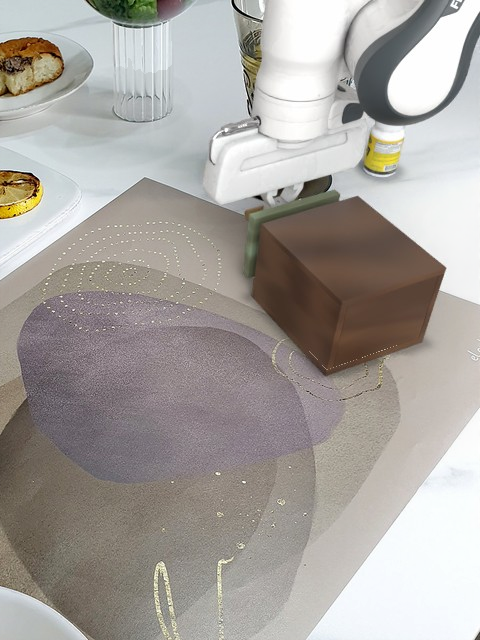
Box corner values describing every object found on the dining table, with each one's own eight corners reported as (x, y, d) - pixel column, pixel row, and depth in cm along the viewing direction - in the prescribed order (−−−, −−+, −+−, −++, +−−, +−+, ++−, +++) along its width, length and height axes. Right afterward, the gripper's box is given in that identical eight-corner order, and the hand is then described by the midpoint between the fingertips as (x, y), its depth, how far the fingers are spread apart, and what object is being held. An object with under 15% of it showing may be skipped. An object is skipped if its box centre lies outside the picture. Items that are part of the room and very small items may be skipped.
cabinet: (251, 296, 105) (261, 223, 97) (341, 268, 108) (357, 195, 101) (325, 376, 95) (342, 301, 87) (422, 342, 98) (446, 267, 90)
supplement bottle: (366, 158, 126) (378, 104, 120) (399, 164, 125) (412, 110, 119) (358, 174, 123) (370, 120, 117) (392, 181, 122) (405, 126, 116)
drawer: (223, 253, 110) (229, 194, 104) (302, 230, 113) (312, 170, 107) (307, 344, 97) (320, 282, 91) (394, 314, 100) (412, 252, 94)
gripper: (225, 142, 91) (215, 249, 101) (384, 100, 96) (360, 206, 106) (196, 116, 95) (189, 221, 105) (350, 78, 101) (330, 182, 110)
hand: (276, 213), depth 106 cm, fingers closed
